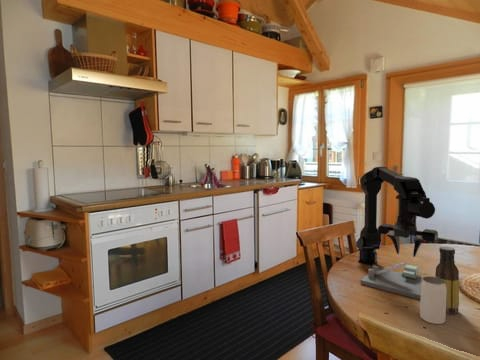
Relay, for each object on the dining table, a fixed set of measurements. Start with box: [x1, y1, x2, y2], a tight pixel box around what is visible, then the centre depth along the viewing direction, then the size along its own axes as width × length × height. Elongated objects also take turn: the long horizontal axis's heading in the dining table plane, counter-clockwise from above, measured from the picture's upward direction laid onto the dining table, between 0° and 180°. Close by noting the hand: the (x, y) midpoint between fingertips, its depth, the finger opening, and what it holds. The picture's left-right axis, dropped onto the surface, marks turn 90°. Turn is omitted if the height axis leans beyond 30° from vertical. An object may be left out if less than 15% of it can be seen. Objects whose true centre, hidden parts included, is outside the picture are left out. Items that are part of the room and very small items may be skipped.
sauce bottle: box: [434, 245, 460, 315], centre depth 99 cm, size 6×6×20 cm
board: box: [360, 264, 424, 301], centre depth 119 cm, size 22×17×4 cm
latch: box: [402, 264, 419, 279], centre depth 121 cm, size 4×6×4 cm, turn 138°
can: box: [419, 276, 447, 325], centre depth 94 cm, size 6×6×12 cm
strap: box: [374, 261, 408, 275], centre depth 121 cm, size 14×3×1 cm, turn 47°
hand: (406, 255), depth 116 cm, fingers open, 5 cm apart
